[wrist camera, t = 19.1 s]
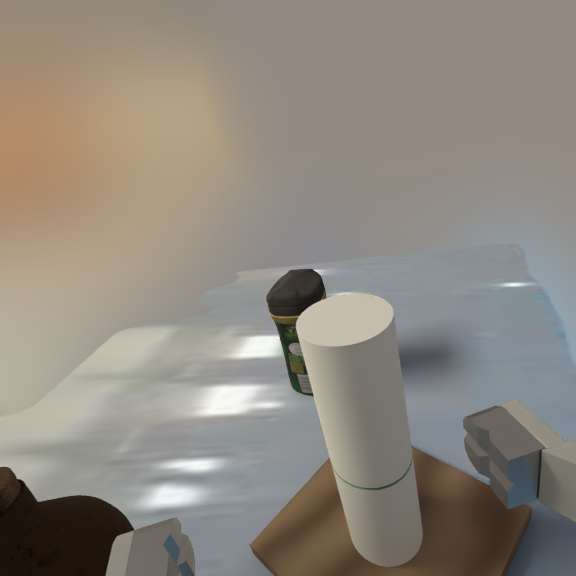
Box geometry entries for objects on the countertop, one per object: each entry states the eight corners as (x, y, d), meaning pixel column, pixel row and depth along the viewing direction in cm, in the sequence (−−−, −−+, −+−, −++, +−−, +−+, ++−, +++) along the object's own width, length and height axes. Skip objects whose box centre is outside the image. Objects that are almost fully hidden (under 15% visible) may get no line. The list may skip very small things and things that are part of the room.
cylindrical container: (409, 489, 42) (380, 286, 31) (433, 560, 35) (406, 333, 25) (344, 501, 42) (294, 304, 32) (356, 572, 36) (297, 355, 25)
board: (253, 553, 41) (249, 545, 40) (363, 430, 52) (362, 421, 52) (431, 742, 27) (430, 733, 26) (530, 516, 38) (531, 507, 37)
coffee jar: (303, 358, 70) (279, 265, 62) (346, 359, 67) (326, 262, 59) (285, 396, 62) (254, 295, 54) (333, 399, 59) (307, 293, 51)
